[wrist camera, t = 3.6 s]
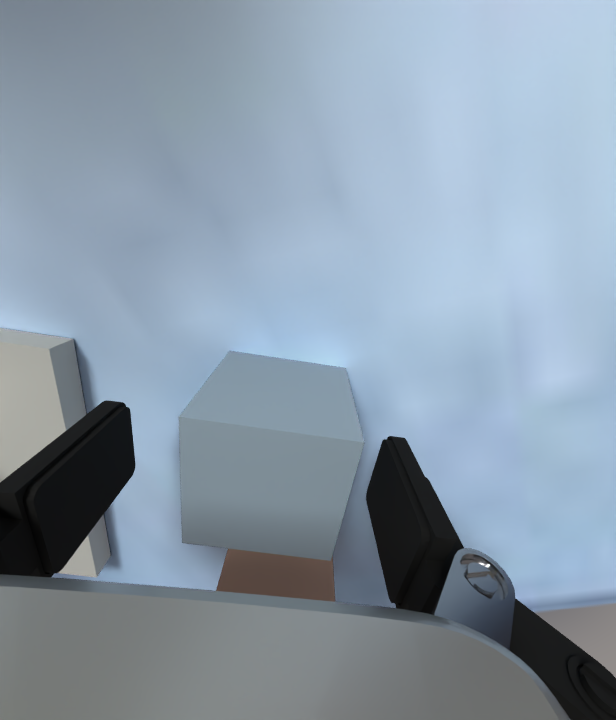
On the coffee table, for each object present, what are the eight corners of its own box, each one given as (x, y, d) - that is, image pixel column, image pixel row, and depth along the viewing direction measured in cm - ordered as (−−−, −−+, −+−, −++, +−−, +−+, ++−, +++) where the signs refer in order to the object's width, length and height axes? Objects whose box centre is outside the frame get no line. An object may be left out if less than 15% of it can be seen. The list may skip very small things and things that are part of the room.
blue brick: (345, 367, 12) (364, 442, 8) (325, 457, 14) (330, 560, 10) (230, 349, 12) (178, 416, 8) (225, 443, 14) (182, 543, 9)
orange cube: (330, 516, 16) (336, 628, 11) (315, 572, 18) (316, 688, 13) (240, 504, 16) (209, 614, 11) (235, 562, 18) (207, 677, 13)
